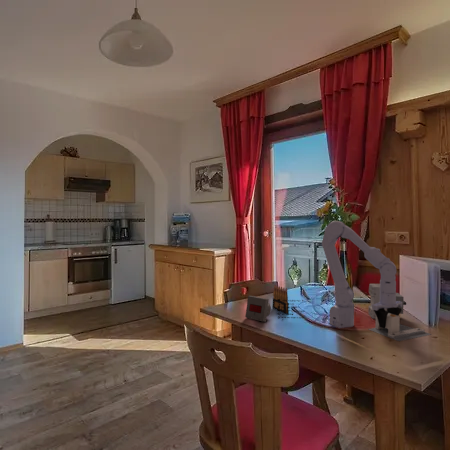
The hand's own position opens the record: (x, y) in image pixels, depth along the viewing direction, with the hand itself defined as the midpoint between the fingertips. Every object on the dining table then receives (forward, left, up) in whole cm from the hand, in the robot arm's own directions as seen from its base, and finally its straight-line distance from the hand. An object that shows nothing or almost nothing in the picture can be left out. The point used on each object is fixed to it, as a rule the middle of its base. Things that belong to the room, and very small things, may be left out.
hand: (387, 326), depth 131 cm
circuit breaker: (+15, +12, -3) cm, 20 cm away
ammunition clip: (-22, +42, -3) cm, 48 cm away
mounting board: (+3, -3, -2) cm, 5 cm away
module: (0, 0, -2) cm, 2 cm away
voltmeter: (-33, +31, -3) cm, 45 cm away
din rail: (+3, -6, -2) cm, 7 cm away
